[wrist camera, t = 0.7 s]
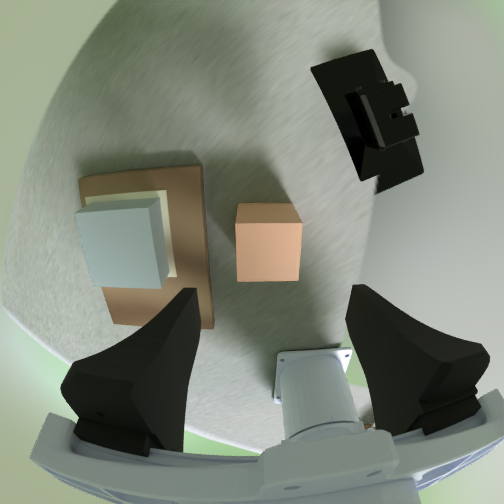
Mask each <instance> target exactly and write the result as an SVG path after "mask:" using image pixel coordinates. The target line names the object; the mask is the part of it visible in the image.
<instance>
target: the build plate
mask: <svg viewBox="0 0 504 504" xmlns="http://www.w3.org/2000/svg"><path fill="white" fill-rule="evenodd" d="M310 70H311V72H312V74H313V76H314V77H315V79H316V81H317V83H318V85H319V87H320V89H321V91H322V93H323V95H324V97H325V99H326V101H327V103H328V105H329V107H330V110H331V112H332V114H333V116H334V118H335V120H336V123H337V125H338V127H339V129H340V132H341V134H342V136H343V139H344V141H345V143H346V146H347V148H348V151H349V153H350V156H351V158H352V161H353V163H354V166H355V168H356V171H357V174H358V176H359V179H360V181H364V180H367V179H369V178H371V177H374V176H376V175H377V176H376V183H375V191H374V195H376V194H379V193H381V192H383V191H385V190H388V189H390V188H392V187H394V186H396V185H399V184H401V183H403V182H405V181H408V180H410V179H412V178H414V177H417V176H419V175H421V174H423V173H424V168H423V164H422V160H421V156H420V153H419V149H418V146H417V142H416V139H415V136H418V135H419V131H418V128H417V125H416V121H415V119H414V116H413V113H407V112H406V110H405V112H404V113H402V110H401V108H402V107H405V106H408V105H410V104H409V102H408V99H407V96H406V94H405V91H404V89H403V86H402V84H401V83H399V84H394V83H393V81H389V82H388V80H387V77H386V75H385V73H384V71H383V68H382V66H381V64H380V62H379V60H378V58H377V56H376V54H375V52H374V50H373V49H370V50H366V51H362V52H358V53H355V54H351V55H348V56H344V57H341V58H338V59H334V60H331V61H328V62H325V63H322V64H319V65H316V66H313V67H311V69H310Z"/></svg>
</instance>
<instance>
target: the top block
mask: <svg viewBox="0 0 504 504" xmlns="http://www.w3.org/2000/svg"><path fill="white" fill-rule="evenodd" d="M302 225H303V223H302V221H301V219H300V217H299V215H298V213H297V212H296V210H295V208H294V206H293V204H292V203H238V208H237V215H236V222H235V230H236V260H237V282H256V281H298V278H299V266H300V254H301V240H302Z"/></svg>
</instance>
